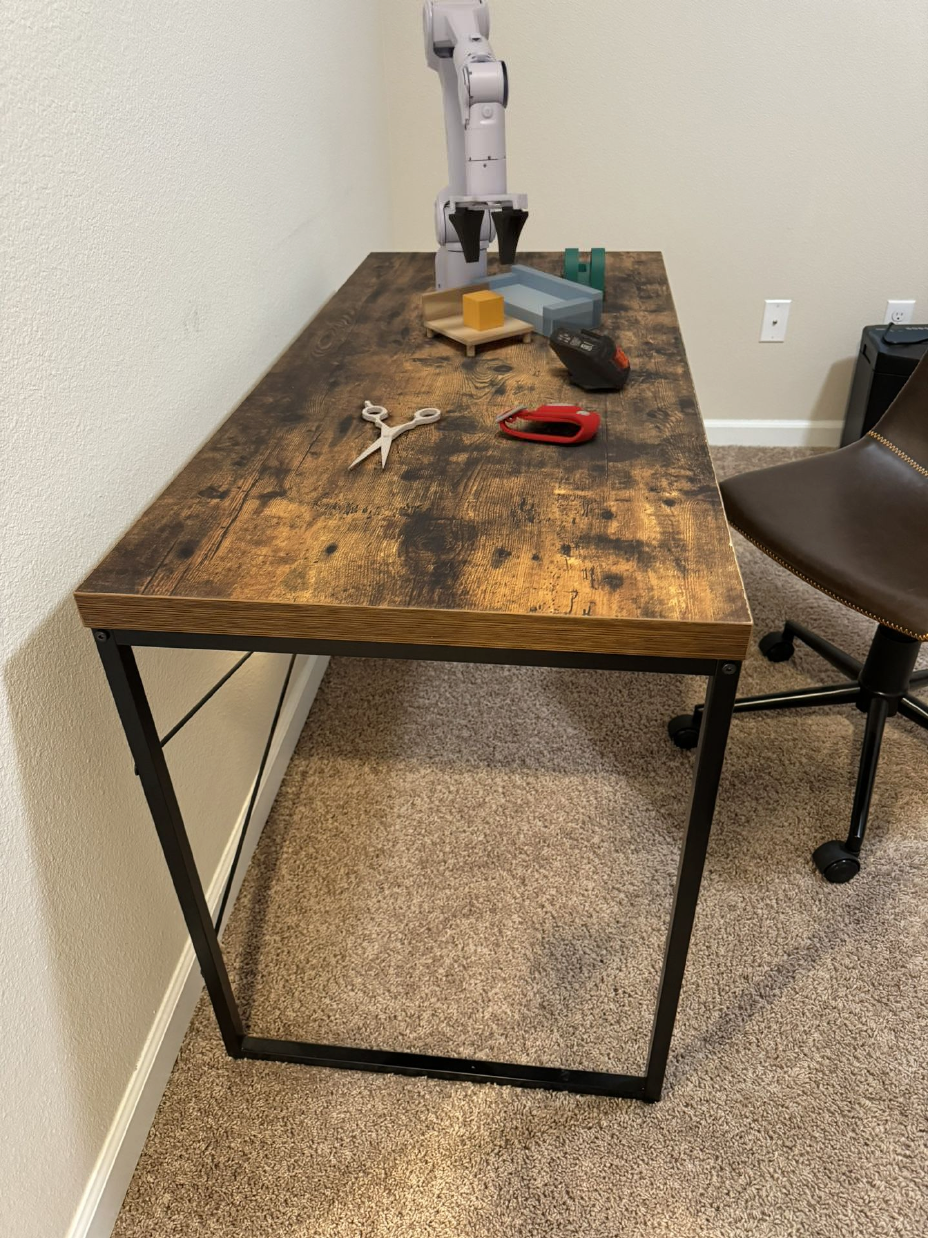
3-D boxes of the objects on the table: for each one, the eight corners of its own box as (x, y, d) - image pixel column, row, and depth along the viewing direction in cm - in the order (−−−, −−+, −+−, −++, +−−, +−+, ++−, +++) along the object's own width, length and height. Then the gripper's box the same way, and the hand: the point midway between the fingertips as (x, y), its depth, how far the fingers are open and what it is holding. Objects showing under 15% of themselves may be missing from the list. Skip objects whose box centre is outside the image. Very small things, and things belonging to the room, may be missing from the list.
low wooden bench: (423, 336, 145) (421, 293, 141) (486, 321, 150) (485, 280, 146) (469, 357, 136) (468, 313, 132) (534, 341, 141) (534, 298, 137)
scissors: (444, 403, 119) (410, 468, 103) (444, 409, 119) (411, 475, 103) (365, 400, 120) (320, 464, 104) (366, 406, 121) (320, 470, 105)
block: (463, 324, 141) (462, 294, 138) (487, 318, 143) (486, 289, 140) (479, 331, 138) (479, 301, 135) (503, 325, 140) (503, 295, 137)
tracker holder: (559, 401, 117) (617, 404, 110) (558, 436, 119) (615, 441, 111) (486, 403, 110) (542, 406, 103) (486, 440, 111) (541, 446, 104)
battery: (611, 409, 122) (644, 369, 122) (580, 367, 117) (615, 326, 117) (559, 391, 131) (590, 354, 131) (529, 351, 126) (561, 313, 126)
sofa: (472, 306, 157) (471, 273, 154) (519, 296, 162) (519, 264, 158) (551, 338, 142) (552, 302, 139) (600, 326, 146) (602, 291, 143)
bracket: (603, 300, 158) (606, 252, 154) (563, 300, 159) (565, 253, 154) (598, 273, 173) (600, 229, 168) (562, 273, 173) (564, 229, 169)
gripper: (431, 163, 132) (437, 264, 138) (500, 158, 122) (503, 267, 128) (468, 162, 136) (472, 259, 142) (537, 157, 126) (538, 262, 132)
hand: (489, 263), depth 135 cm, fingers open, 7 cm apart
